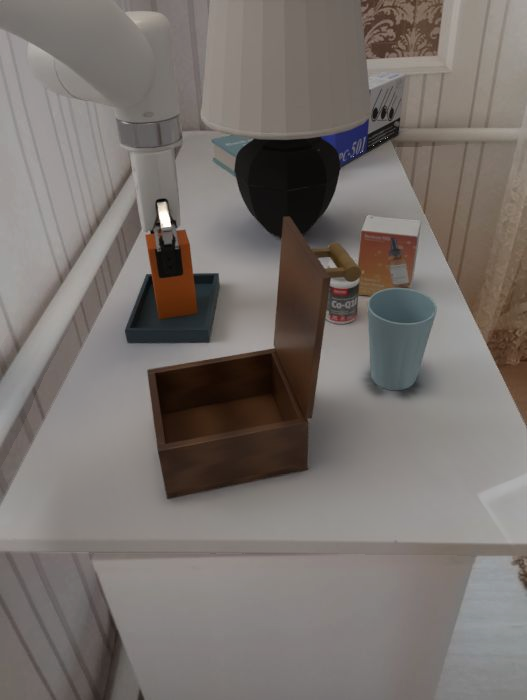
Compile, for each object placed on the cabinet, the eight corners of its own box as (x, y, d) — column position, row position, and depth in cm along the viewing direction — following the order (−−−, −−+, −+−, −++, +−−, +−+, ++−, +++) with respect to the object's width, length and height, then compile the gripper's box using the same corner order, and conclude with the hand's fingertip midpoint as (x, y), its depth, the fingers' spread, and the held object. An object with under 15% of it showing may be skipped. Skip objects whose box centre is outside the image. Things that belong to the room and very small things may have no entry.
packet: (159, 319, 84) (147, 249, 78) (156, 303, 88) (145, 234, 81) (197, 313, 85) (189, 243, 79) (193, 297, 89) (185, 229, 82)
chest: (167, 499, 60) (157, 451, 55) (155, 415, 69) (146, 369, 65) (308, 469, 62) (308, 422, 58) (277, 393, 72) (276, 347, 68)
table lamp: (203, 270, 97) (172, -19, 73) (218, 203, 118) (198, -37, 94) (372, 268, 95) (397, -28, 72) (356, 200, 117) (371, -44, 93)
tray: (209, 342, 81) (207, 329, 79) (127, 342, 81) (124, 330, 80) (219, 284, 93) (218, 272, 92) (148, 285, 93) (146, 273, 92)
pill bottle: (330, 327, 83) (332, 274, 78) (318, 309, 86) (319, 257, 81) (362, 321, 83) (366, 268, 78) (349, 304, 87) (352, 252, 82)
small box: (354, 295, 89) (359, 230, 83) (361, 277, 93) (365, 213, 87) (409, 302, 87) (418, 236, 81) (413, 283, 91) (422, 219, 85)
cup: (351, 384, 73) (356, 312, 66) (375, 351, 78) (382, 281, 72) (411, 404, 69) (423, 330, 63) (432, 368, 75) (445, 297, 68)
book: (213, 161, 138) (211, 139, 135) (274, 148, 144) (273, 126, 141) (259, 193, 122) (258, 168, 119) (325, 177, 128) (326, 153, 125)
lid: (323, 278, 49) (381, 274, 50) (283, 216, 59) (332, 214, 60) (305, 419, 58) (355, 413, 59) (273, 345, 67) (316, 340, 69)
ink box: (335, 171, 130) (337, 103, 122) (309, 165, 134) (310, 98, 125) (400, 135, 149) (407, 73, 140) (377, 130, 152) (381, 70, 144)
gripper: (115, 114, 78) (135, 236, 88) (121, 156, 64) (144, 294, 74) (173, 109, 79) (186, 229, 89) (191, 149, 65) (204, 286, 75)
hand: (167, 259), depth 82 cm, fingers open, 9 cm apart
